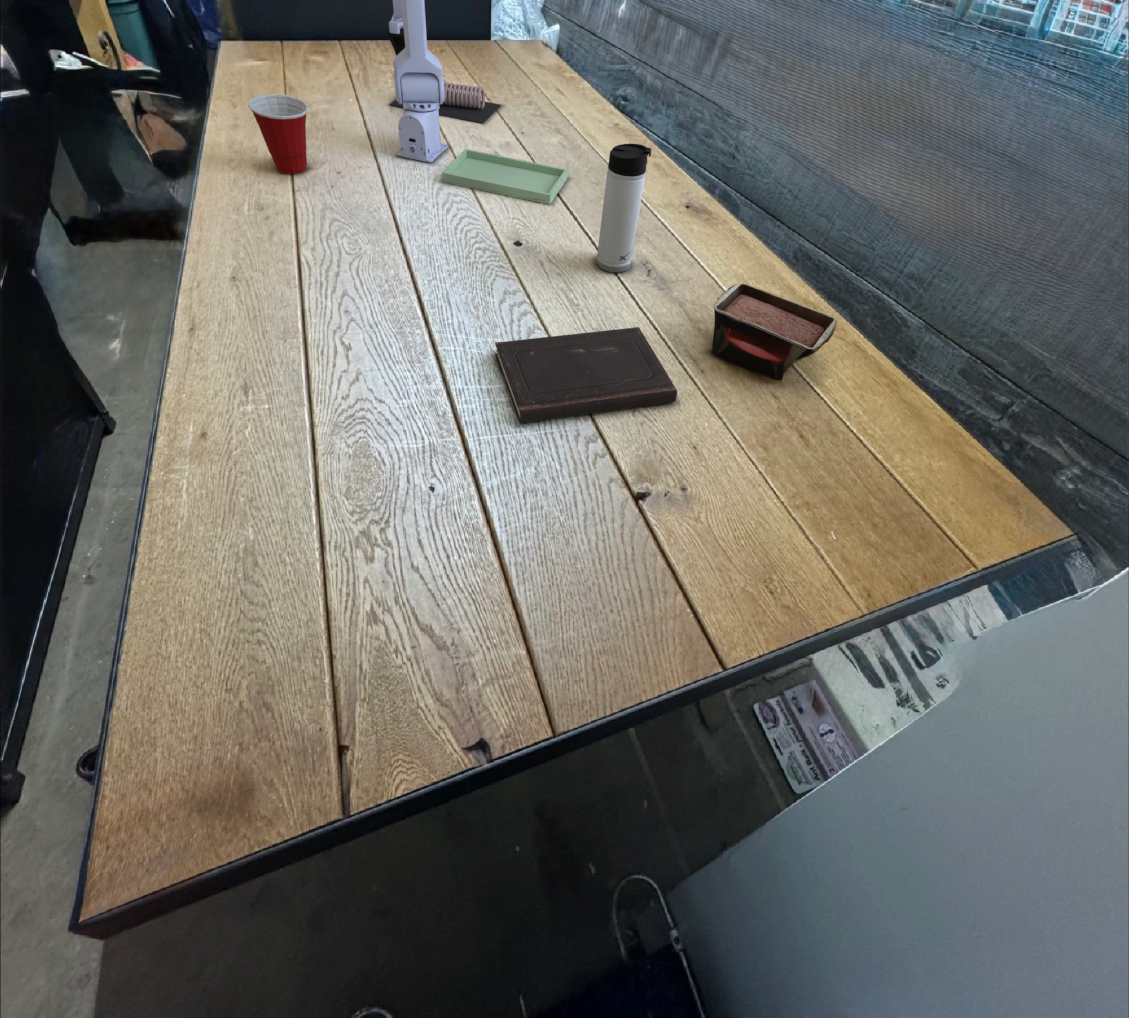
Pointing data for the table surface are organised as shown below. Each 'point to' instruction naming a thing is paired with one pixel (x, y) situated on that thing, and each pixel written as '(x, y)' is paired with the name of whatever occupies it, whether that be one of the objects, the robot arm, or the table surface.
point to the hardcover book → (582, 374)
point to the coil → (462, 99)
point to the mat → (463, 111)
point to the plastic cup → (283, 129)
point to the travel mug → (621, 206)
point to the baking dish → (766, 330)
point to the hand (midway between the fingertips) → (411, 62)
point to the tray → (505, 176)
